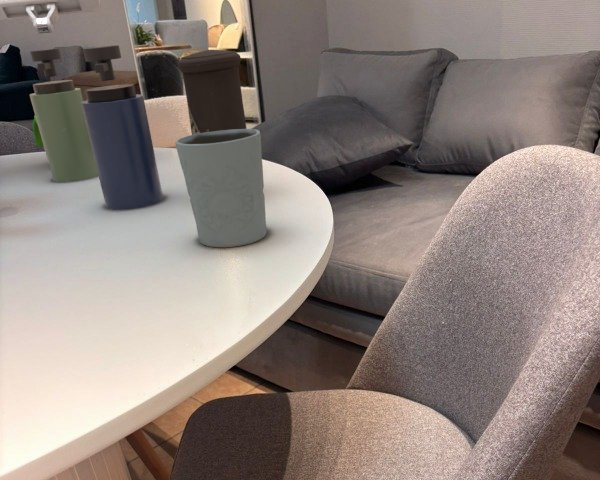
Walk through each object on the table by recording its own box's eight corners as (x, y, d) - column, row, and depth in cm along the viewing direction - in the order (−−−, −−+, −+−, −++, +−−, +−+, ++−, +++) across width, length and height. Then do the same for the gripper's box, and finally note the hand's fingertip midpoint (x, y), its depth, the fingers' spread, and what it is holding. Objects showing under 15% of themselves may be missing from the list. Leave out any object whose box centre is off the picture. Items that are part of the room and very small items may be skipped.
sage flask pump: (40, 76, 117) (33, 50, 114) (68, 73, 117) (61, 47, 115) (29, 80, 110) (22, 52, 108) (59, 77, 110) (52, 49, 108)
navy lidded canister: (110, 198, 105) (84, 88, 96) (164, 192, 105) (143, 81, 97) (101, 212, 97) (72, 93, 89) (161, 205, 98) (137, 86, 89)
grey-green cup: (229, 254, 75) (212, 146, 68) (176, 241, 81) (156, 141, 75) (288, 230, 81) (278, 129, 74) (234, 220, 87) (221, 126, 81)
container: (194, 195, 102) (169, 53, 91) (246, 185, 104) (229, 46, 94) (209, 206, 95) (184, 54, 84) (265, 195, 97) (248, 46, 87)
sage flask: (58, 174, 127) (33, 82, 119) (104, 169, 128) (82, 77, 119) (48, 184, 120) (21, 87, 111) (97, 178, 120) (73, 81, 111)
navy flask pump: (93, 80, 94) (86, 48, 92) (127, 76, 95) (120, 44, 92) (84, 85, 88) (75, 50, 85) (120, 81, 88) (113, 46, 86)
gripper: (-26, -43, 113) (-25, 21, 110) (90, -53, 114) (95, 10, 111) (-10, -12, 119) (-8, 49, 116) (100, -22, 120) (105, 38, 117)
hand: (43, 30), depth 113 cm, fingers closed
